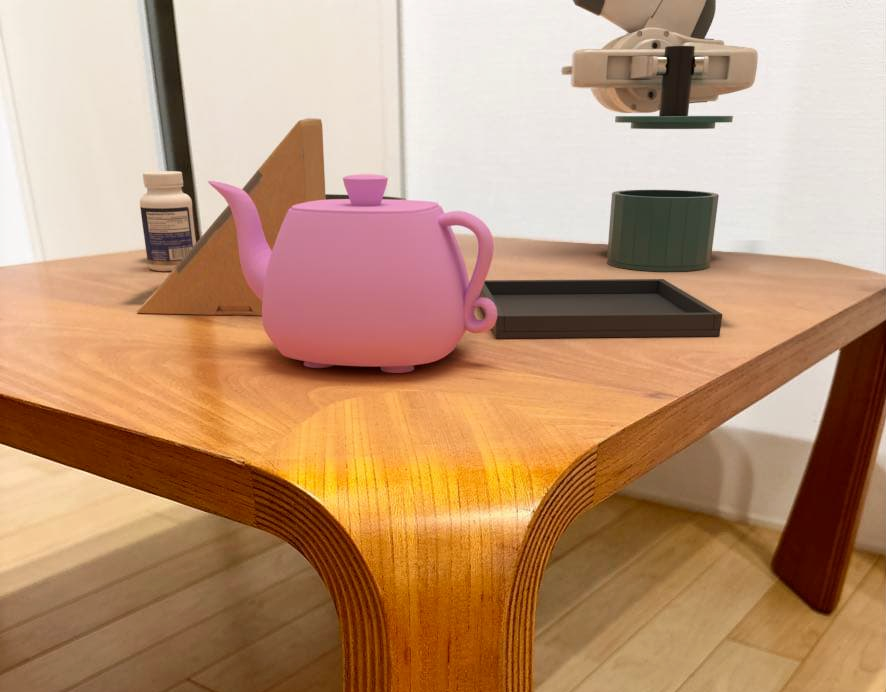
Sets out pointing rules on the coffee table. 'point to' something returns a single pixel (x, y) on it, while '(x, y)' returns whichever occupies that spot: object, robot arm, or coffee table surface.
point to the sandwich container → (216, 253)
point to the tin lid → (675, 97)
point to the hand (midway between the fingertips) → (681, 65)
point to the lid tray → (597, 309)
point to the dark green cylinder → (662, 230)
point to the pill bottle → (166, 220)
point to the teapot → (364, 277)
